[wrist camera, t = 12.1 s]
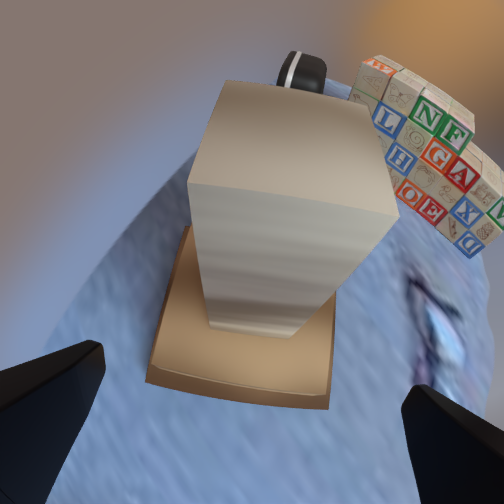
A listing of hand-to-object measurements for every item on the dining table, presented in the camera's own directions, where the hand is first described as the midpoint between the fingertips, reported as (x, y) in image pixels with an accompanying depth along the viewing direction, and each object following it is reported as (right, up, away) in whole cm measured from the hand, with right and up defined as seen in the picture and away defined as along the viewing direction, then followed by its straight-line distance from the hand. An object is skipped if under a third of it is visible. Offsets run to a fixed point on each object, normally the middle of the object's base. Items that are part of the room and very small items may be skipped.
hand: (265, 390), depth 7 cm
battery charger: (+3, +14, +23) cm, 27 cm away
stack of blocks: (+18, +11, +23) cm, 32 cm away
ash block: (0, +1, +10) cm, 10 cm away
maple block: (-1, -1, +12) cm, 12 cm away
